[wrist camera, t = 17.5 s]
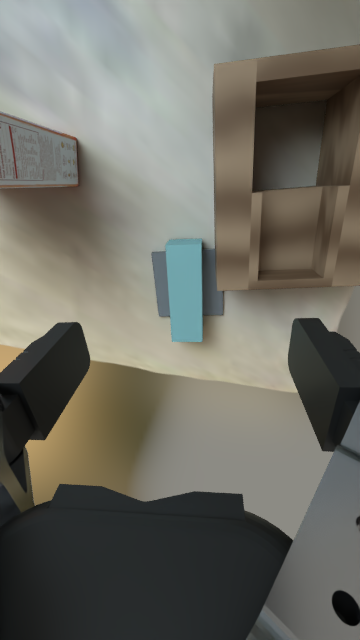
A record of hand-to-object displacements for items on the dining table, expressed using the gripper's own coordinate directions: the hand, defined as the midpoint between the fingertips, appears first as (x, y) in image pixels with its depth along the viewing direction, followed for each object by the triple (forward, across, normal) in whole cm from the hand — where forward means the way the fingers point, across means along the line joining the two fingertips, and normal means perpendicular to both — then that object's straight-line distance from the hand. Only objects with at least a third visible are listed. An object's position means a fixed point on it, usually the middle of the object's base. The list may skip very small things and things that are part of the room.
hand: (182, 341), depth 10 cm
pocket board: (+30, -10, -3) cm, 32 cm away
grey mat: (+30, +2, +9) cm, 31 cm away
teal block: (+29, +2, +9) cm, 30 cm away
